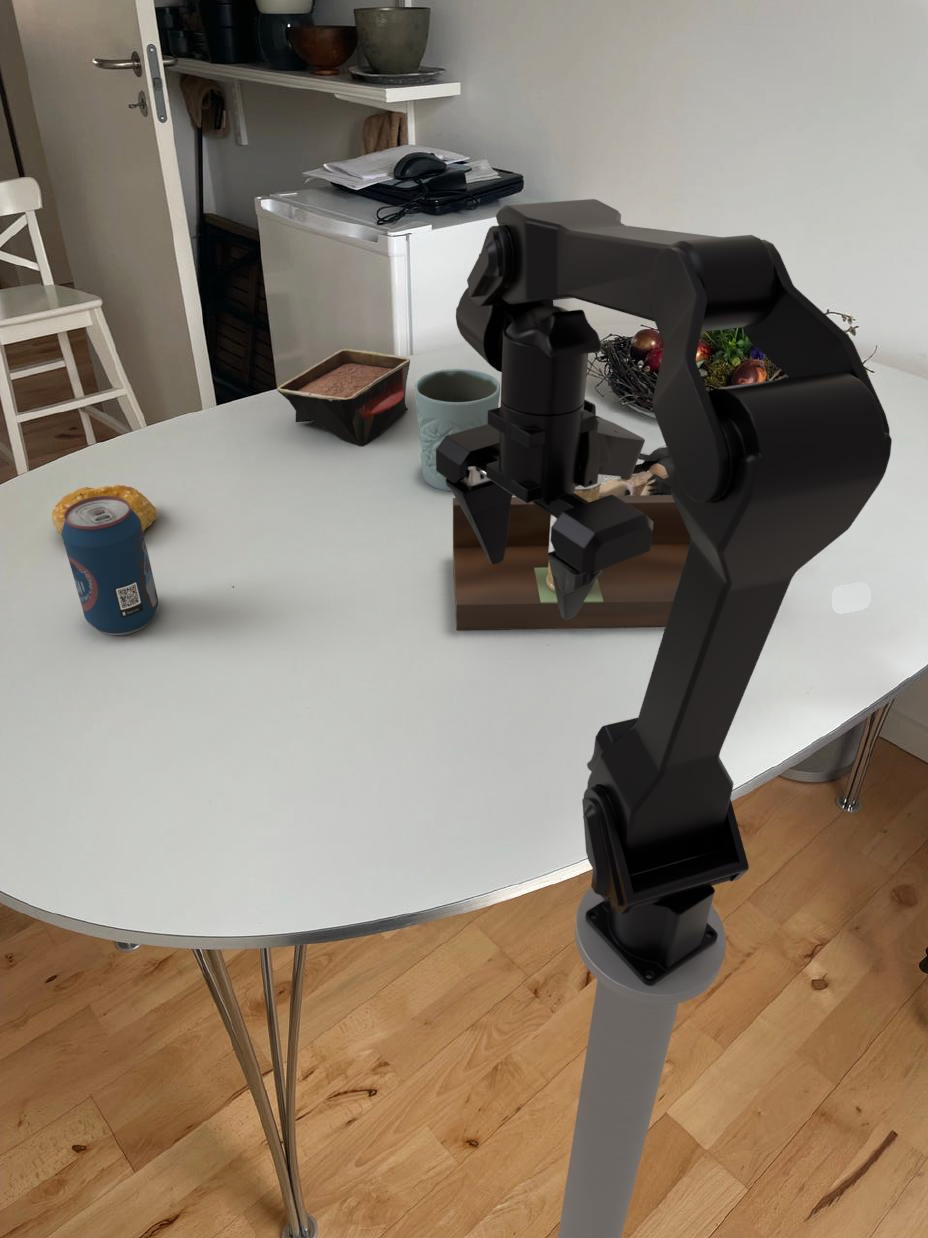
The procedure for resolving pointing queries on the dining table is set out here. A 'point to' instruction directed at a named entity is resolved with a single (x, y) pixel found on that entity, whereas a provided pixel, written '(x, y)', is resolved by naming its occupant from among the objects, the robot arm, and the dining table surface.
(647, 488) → the toy figure
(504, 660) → the dining table surface
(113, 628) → the soda can
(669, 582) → the shelf
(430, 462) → the teal cup
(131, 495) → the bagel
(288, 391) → the baking dish
